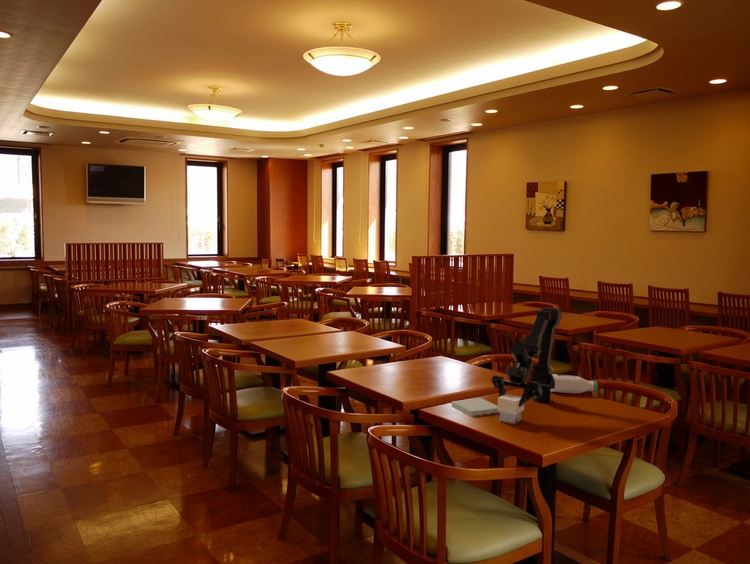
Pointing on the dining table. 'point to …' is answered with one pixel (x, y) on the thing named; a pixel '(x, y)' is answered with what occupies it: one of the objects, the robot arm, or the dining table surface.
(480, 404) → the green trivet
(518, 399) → the cream lid
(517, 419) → the steel tin
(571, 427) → the dining table surface
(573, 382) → the milk bottle
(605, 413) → the dining table surface
